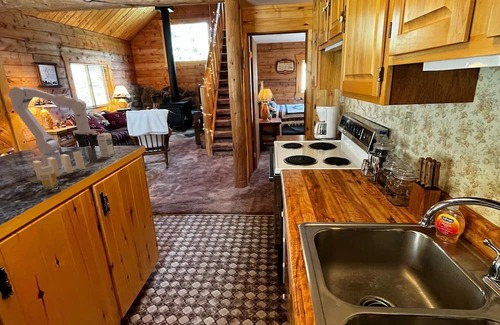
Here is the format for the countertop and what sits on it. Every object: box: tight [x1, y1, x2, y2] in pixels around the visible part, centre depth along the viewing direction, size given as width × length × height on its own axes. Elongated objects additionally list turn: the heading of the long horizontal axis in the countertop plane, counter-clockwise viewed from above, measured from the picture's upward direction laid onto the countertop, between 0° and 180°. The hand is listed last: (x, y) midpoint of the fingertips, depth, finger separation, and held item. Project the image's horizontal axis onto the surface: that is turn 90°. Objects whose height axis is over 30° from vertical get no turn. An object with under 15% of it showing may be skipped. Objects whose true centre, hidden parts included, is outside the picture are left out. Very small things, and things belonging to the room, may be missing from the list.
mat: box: [25, 161, 105, 184], centre depth 140 cm, size 12×33×1 cm, turn 147°
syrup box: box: [96, 132, 116, 158], centre depth 165 cm, size 6×6×14 cm
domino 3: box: [60, 153, 74, 174], centre depth 137 cm, size 2×5×9 cm, turn 57°
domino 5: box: [86, 145, 99, 163], centre depth 153 cm, size 2×5×9 cm, turn 57°
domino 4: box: [72, 151, 86, 171], centre depth 141 cm, size 2×5×9 cm, turn 57°
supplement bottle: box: [40, 165, 59, 190], centre depth 118 cm, size 5×5×10 cm
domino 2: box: [47, 157, 62, 178], centre depth 132 cm, size 2×5×9 cm, turn 57°
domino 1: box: [31, 159, 44, 180], centre depth 127 cm, size 2×5×9 cm, turn 57°
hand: (88, 147), depth 147 cm, fingers open, 7 cm apart
